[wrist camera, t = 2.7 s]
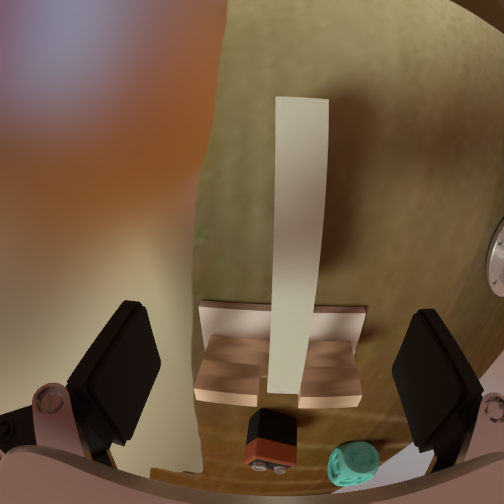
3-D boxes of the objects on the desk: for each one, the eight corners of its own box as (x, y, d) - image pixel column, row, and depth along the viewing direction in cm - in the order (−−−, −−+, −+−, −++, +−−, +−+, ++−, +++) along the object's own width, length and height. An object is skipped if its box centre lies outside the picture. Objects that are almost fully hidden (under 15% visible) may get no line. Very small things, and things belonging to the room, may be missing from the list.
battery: (260, 406, 38) (254, 462, 29) (298, 417, 39) (297, 470, 30) (248, 418, 40) (241, 469, 31) (284, 428, 41) (281, 477, 32)
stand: (363, 306, 29) (384, 367, 21) (346, 367, 33) (356, 424, 25) (201, 300, 31) (175, 359, 22) (209, 361, 35) (193, 417, 26)
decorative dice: (359, 455, 45) (362, 485, 38) (326, 456, 46) (327, 487, 38) (376, 439, 42) (381, 472, 35) (341, 440, 42) (344, 475, 35)
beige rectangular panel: (302, 117, 22) (329, 99, 9) (294, 281, 28) (298, 393, 16) (278, 116, 22) (275, 96, 9) (275, 281, 29) (267, 392, 16)
